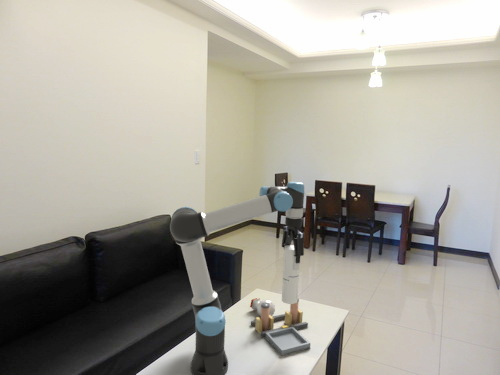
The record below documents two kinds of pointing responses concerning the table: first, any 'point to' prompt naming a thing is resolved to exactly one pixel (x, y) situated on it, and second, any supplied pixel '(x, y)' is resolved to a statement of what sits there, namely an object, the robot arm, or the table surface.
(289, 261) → the cylindrical container
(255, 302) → the potion bottle
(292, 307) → the fuse
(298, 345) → the tray
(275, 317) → the fuse holder
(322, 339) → the table surface
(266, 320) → the cylinder
